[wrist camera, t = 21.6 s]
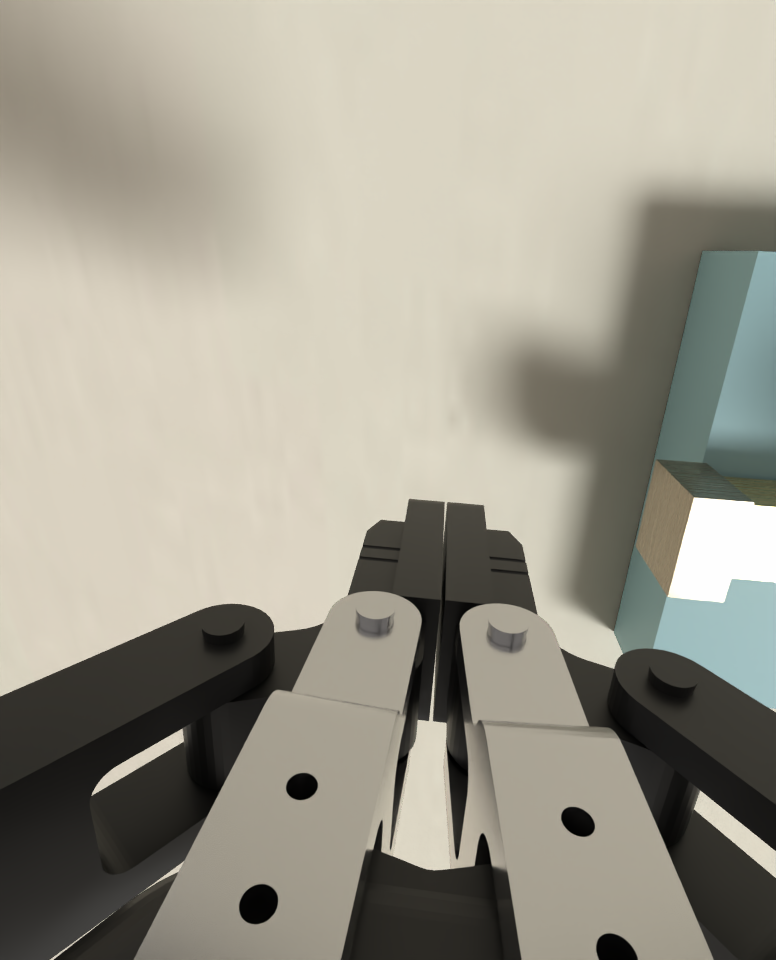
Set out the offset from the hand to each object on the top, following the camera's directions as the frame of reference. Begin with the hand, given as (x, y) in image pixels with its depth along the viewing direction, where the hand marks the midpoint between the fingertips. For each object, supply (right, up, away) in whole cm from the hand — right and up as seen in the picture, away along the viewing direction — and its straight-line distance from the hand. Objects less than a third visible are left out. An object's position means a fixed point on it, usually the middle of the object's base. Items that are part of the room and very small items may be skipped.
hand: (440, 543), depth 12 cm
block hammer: (+12, 0, +7) cm, 14 cm away
